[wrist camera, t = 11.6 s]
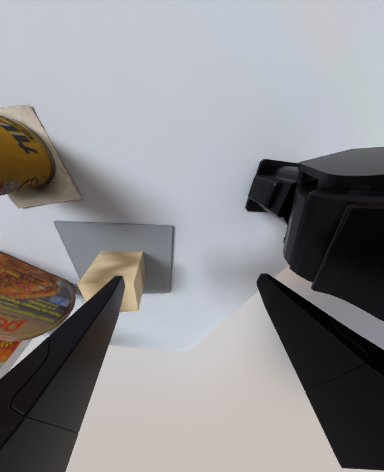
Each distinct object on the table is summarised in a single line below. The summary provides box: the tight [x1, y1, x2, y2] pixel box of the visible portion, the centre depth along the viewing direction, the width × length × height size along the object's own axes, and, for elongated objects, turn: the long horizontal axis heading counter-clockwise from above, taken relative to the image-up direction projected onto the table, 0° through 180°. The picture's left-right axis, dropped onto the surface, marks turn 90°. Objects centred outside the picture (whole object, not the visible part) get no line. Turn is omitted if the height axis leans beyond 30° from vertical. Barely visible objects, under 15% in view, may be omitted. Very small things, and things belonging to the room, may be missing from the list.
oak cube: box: [77, 251, 145, 312], centre depth 20 cm, size 6×6×6 cm
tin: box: [0, 253, 76, 342], centre depth 18 cm, size 15×3×8 cm, turn 38°
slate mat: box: [54, 221, 173, 294], centre depth 22 cm, size 15×15×1 cm
